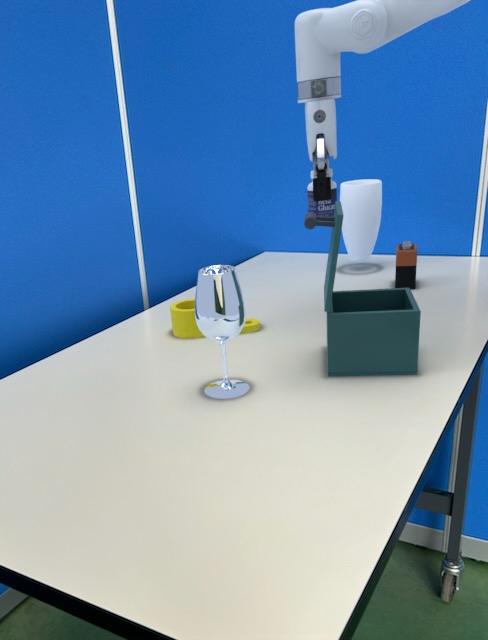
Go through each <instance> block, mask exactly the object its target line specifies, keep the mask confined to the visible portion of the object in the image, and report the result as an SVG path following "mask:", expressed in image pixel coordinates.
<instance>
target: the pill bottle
mask: <svg viewBox="0 0 488 640" xmlns="http://www.w3.org/2000/svg"><path fill="white" fill-rule="evenodd" d="M333 172H334V171H333V168H329V177H331V199H330V200H325V201H314V200H313V178H314V169H312V170H311V171H310V179H311V182H310V183H308V185H307V191H306V193H307V213H308V212H314V213H315V214H316V216H325V217H333V216H334V208H335V201H338V186H337V185H338V184H337V182H336V181H334V180H332V178H333V175H334V173H333Z"/></svg>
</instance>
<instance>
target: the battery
mask: <svg viewBox="0 0 488 640" xmlns="http://www.w3.org/2000/svg"><path fill="white" fill-rule="evenodd" d="M395 250H396V252H395V275H394V288H410V289H411V290H416V286H417V285H416V284H417V281H416V280H417V266H418V265H417V264H418V245H417V243H411V241H410V240H404V241H403V242H402V243H398V244H397V245H396V248H395Z"/></svg>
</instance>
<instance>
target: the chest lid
mask: <svg viewBox="0 0 488 640" xmlns="http://www.w3.org/2000/svg"><path fill="white" fill-rule="evenodd" d="M342 223H343V211H342V206H341V201H340V200H337V201H335V208H334V216H333V217H325V216H316V214H315V213H314V212H308V211H307V213H305V215H304V224H303V225H304V227H305V228H306V229H307V230H314V229H315V227H326V228H327V227H328V228H331V232H330V239H329V247H328V254H327V261H326V270H325V277H324V284H323V303H324V304H323V305H324V307H323V309H324V312H326V313H327V312H330V309H331V301H332V294H333V291H334V286H335V281H336V273H337V272H336V271H337V266H338V264H337V263H338V257H339V250H340V243H341V235H342Z"/></svg>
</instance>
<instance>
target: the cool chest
mask: <svg viewBox="0 0 488 640" xmlns="http://www.w3.org/2000/svg"><path fill="white" fill-rule="evenodd" d="M421 313H422V312H421V309H420V306H419V305H418V302H417V300H416V298H415V296H414V294H413V292H412V289H410V288H395V287H394V288H377V289H376V288H374V289H373V288H372V289H371V288H370V289H352V290H349V289H348V290H333V294H332V301H331V309H330V312H326V362H327V363H326V364H327V367H326V368H327V377H329V378H331V377H335V378H336V377H376V376H380V377H381V376H382V377H383V376H417V375H418V365H419V363H418V362H419V349H420V329H421Z"/></svg>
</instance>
